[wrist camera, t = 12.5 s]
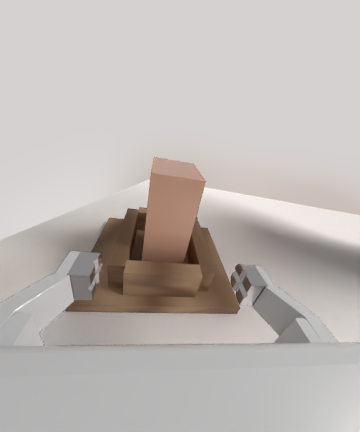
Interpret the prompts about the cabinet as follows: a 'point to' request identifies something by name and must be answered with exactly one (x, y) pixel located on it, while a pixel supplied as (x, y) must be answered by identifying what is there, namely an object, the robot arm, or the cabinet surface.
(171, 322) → the cabinet surface
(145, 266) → the wooden tray with base
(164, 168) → the peach rectangular block
